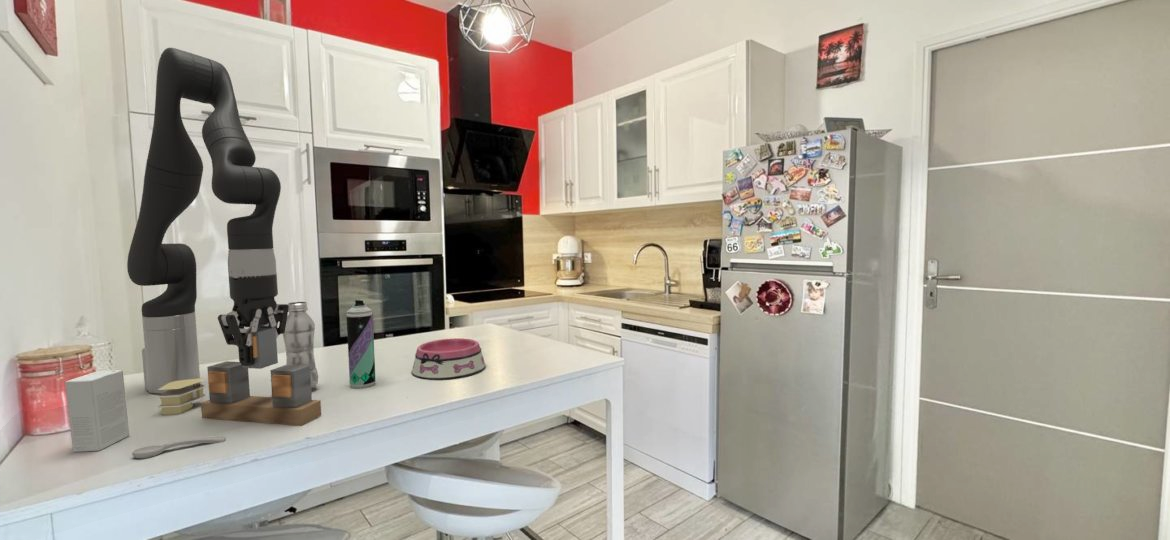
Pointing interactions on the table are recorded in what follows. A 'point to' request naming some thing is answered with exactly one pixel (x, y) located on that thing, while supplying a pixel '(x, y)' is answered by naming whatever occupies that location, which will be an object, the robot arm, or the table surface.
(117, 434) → the skincare box
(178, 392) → the stacked layers on plate
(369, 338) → the spray can
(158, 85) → the robot arm
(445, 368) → the dog bowl
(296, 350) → the plastic bottle
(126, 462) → the table surface
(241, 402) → the rail
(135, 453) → the spoon
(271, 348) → the grey block
